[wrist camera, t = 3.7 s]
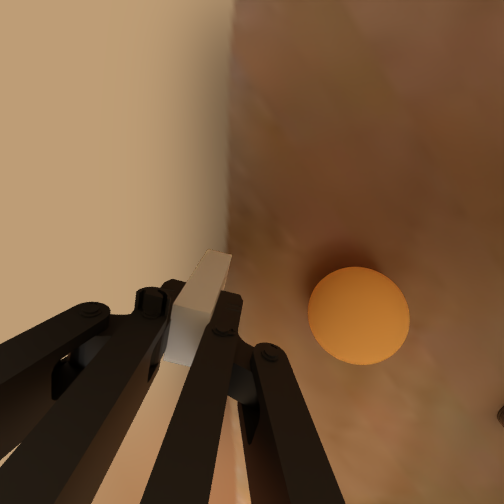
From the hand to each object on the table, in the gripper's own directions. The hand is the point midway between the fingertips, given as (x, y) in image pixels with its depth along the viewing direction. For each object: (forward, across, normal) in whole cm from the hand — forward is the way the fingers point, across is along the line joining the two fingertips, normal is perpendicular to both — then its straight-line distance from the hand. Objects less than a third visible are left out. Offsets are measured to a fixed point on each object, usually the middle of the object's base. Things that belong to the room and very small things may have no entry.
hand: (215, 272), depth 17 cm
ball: (-1, +9, 0) cm, 9 cm away
